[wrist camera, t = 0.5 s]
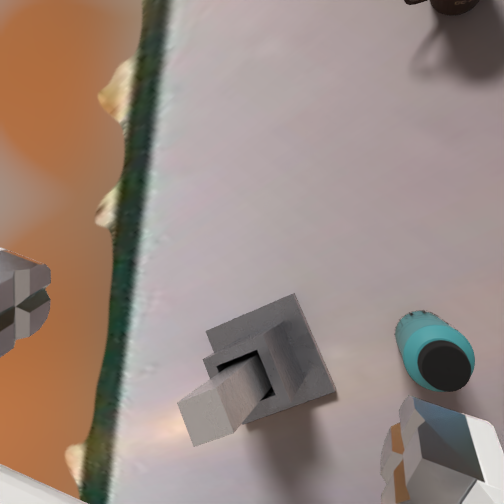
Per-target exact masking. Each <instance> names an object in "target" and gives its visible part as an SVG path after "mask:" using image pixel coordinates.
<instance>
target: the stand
mask: <svg viewBox="0 0 504 504" xmlns="http://www.w3.org/2000/svg"><path fill="white" fill-rule="evenodd" d="M206 333H207V336H208V338H209V341H210V343H211V346H212V348H213V351H214V353H213V354H211V355H210V356H208V357H206V358H204V359H203V362H204V364H205V367H206V369H207V372H208V374H209V377H210V379H211V378H213V377H214V376H215V375H217V374H218V373H220V372H221V371H222V370H224V369H225V368H227V367H228V366H230V365H231V364H232V363H234V362H235V361H237V360H238V359H239V358H241V357H242V356H244V355H245V354H247V353H250V352H252V351H255V350H257V351H258V353H259V356H260V358H261V361H262V363H263V365H264V368H265V370H266V373H267V375H268V378H269V380H270V382H271V385H272V387H271V388H270V389H269V390H268V392H267V393H266V394H265V395H264V396H263V398H262V399H261V400H260V401H259V403H258V404H257V405H256V406H255V408H254V409H253V410H252V411H251V412H250V414H249V415H248V416H247V417H246V419H245V420H244V421H243V422H242V424H246V423H249V422H251V421H254V420H257V419H260V418H263V417H265V416H268V415H271V414H274V413H277V412H279V411H282V410H285V409H288V408H291V407H293V406H296V405H299V404H302V403H305V402H307V401H310V400H313V399H316V398H319V397H321V396H324V395H327V394H330V393H333V392H335V390H336V387H335V385H334V383H333V381H332V378H331V376H330V374H329V371H328V369H327V367H326V364H325V362H324V360H323V358H322V355H321V353H320V351H319V348H318V346H317V344H316V341H315V339H314V337H313V335H312V332H311V330H310V328H309V325H308V323H307V321H306V319H305V316H304V314H303V312H302V309H301V307H300V305H299V302H298V300H297V298H296V296H295V293H294V294H291V295H289V296H287V297H284V298H282V299H280V300H277V301H275V302H273V303H270V304H268V305H266V306H263V307H261V308H259V309H256V310H254V311H252V312H249V313H247V314H245V315H242V316H240V317H238V318H235V319H233V320H231V321H228V322H226V323H224V324H221V325H219V326H217V327H214V328H212V329H210V330H207V331H206Z"/></svg>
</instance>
